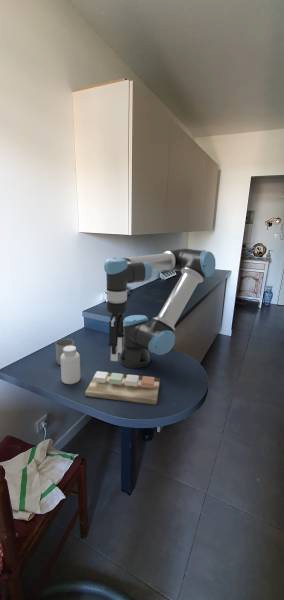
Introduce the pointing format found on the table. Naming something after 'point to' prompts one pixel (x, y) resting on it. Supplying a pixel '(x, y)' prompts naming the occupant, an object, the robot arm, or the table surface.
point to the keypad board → (124, 391)
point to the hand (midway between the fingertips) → (116, 356)
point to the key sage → (116, 378)
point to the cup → (59, 348)
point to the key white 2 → (132, 380)
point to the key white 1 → (100, 377)
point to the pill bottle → (70, 365)
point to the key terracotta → (147, 382)
